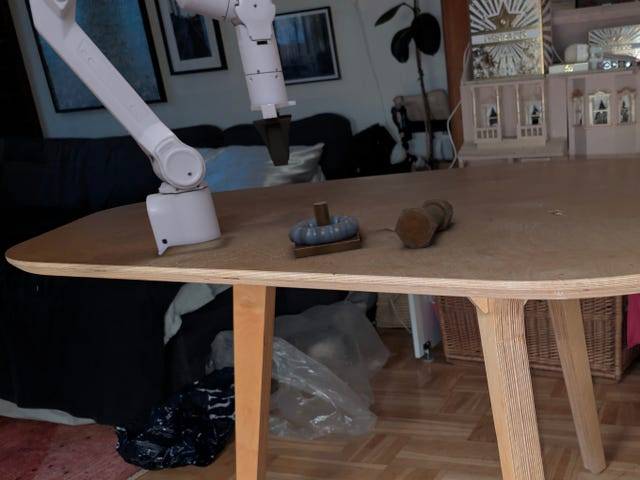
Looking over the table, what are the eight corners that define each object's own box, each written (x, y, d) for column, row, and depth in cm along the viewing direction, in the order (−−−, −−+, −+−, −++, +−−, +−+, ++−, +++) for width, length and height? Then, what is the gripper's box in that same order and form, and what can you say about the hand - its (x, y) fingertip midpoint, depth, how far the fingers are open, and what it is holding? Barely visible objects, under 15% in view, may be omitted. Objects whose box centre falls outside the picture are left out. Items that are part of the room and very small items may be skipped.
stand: (296, 258, 96) (286, 213, 94) (297, 244, 105) (288, 202, 102) (361, 247, 98) (353, 203, 95) (357, 235, 106) (350, 194, 104)
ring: (288, 250, 96) (284, 233, 95) (292, 235, 105) (289, 219, 104) (361, 239, 97) (358, 222, 96) (359, 226, 106) (356, 210, 105)
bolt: (451, 233, 108) (423, 256, 94) (422, 219, 108) (390, 239, 95) (466, 199, 106) (439, 217, 92) (436, 184, 106) (405, 200, 92)
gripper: (288, 69, 103) (307, 164, 109) (290, 71, 116) (307, 155, 122) (239, 75, 102) (260, 170, 107) (247, 76, 115) (265, 161, 121)
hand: (282, 163), depth 114 cm, fingers open, 7 cm apart
